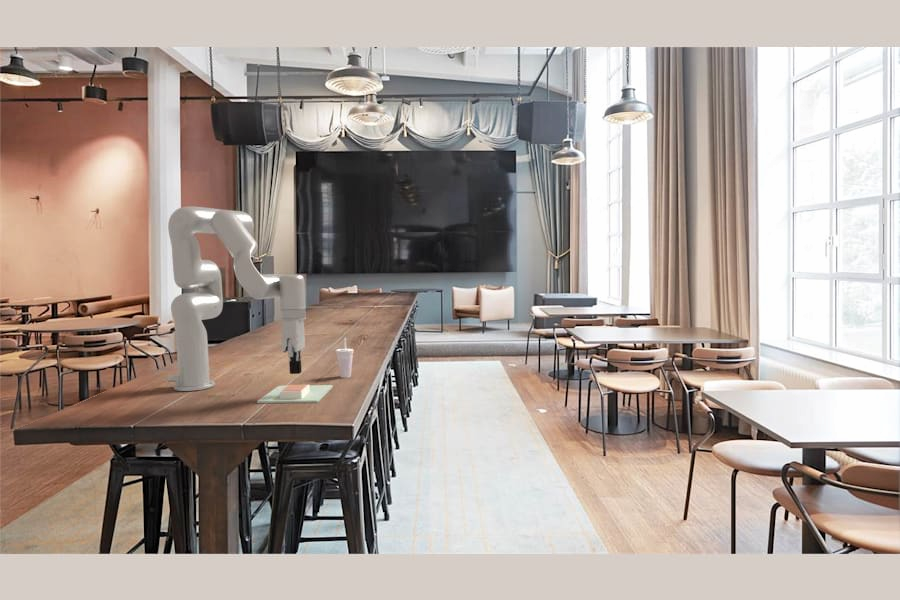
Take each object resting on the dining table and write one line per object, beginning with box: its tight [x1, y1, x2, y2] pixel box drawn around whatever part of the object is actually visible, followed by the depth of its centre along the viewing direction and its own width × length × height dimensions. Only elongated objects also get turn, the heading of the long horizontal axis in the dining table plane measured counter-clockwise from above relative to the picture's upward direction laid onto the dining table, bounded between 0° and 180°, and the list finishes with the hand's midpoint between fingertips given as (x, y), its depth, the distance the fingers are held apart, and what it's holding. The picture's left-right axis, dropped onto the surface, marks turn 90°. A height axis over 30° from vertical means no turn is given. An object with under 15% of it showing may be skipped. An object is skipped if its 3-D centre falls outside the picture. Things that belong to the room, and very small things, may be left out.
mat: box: [256, 384, 333, 404], centre depth 182 cm, size 18×20×1 cm
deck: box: [280, 384, 310, 399], centre depth 179 cm, size 6×2×9 cm
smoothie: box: [335, 337, 354, 379], centre depth 207 cm, size 6×6×14 cm
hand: (295, 373), depth 181 cm, fingers closed
